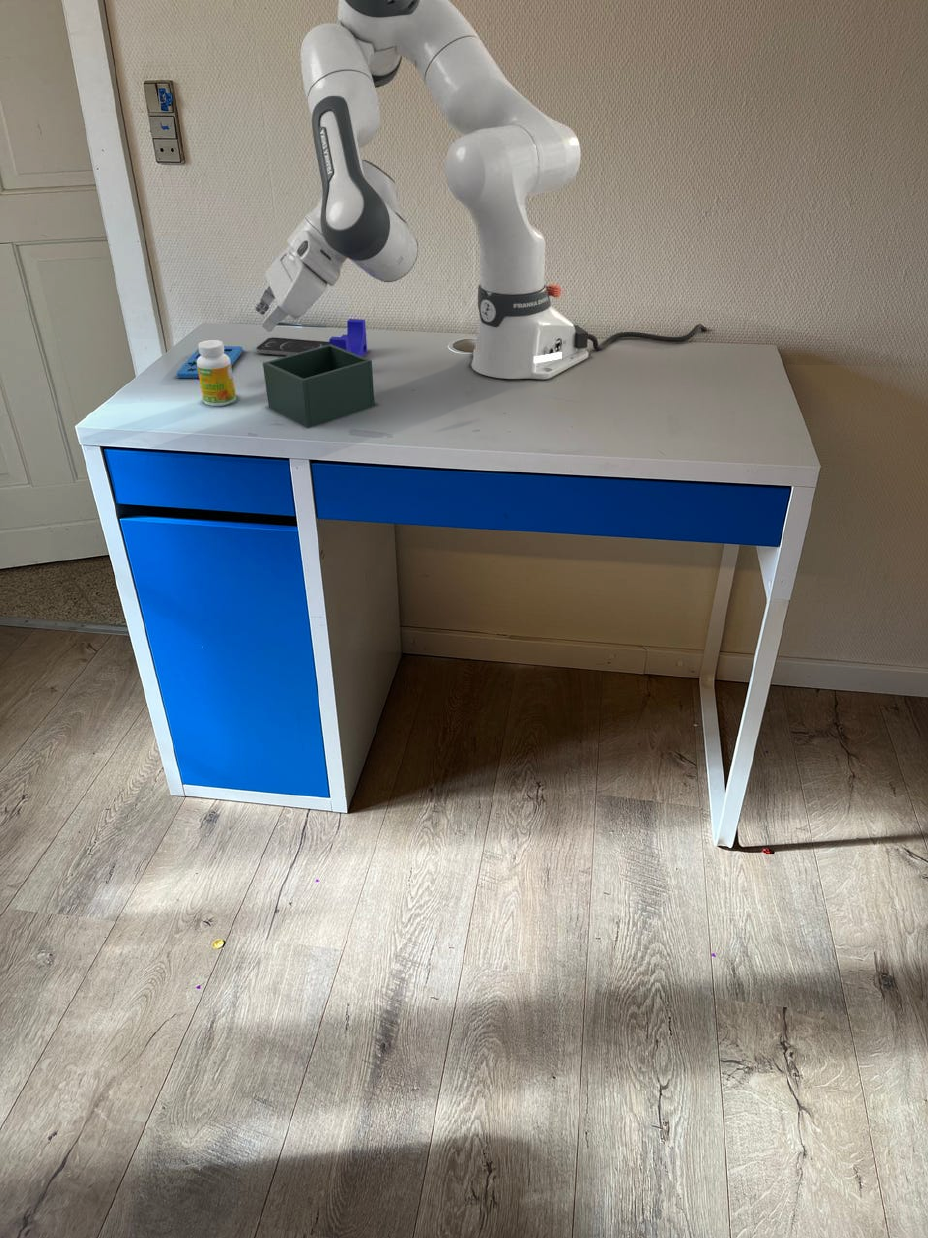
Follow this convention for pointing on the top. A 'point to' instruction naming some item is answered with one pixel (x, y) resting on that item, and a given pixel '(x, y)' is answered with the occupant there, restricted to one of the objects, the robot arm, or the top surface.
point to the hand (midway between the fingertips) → (261, 319)
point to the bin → (319, 384)
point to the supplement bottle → (215, 374)
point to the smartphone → (288, 346)
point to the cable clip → (353, 338)
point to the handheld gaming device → (191, 365)
